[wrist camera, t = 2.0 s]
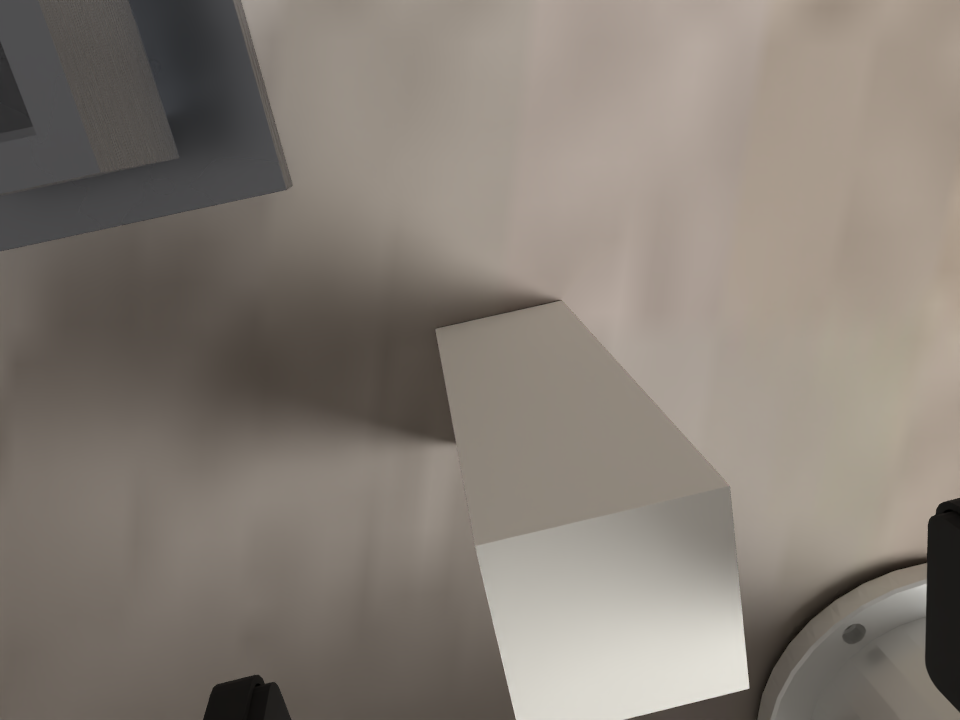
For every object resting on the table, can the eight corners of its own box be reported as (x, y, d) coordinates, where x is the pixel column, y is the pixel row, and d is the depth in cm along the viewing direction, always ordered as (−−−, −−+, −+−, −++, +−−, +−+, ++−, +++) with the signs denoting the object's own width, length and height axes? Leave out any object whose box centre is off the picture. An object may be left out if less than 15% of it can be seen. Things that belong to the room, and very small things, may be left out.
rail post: (561, 300, 22) (729, 485, 11) (581, 417, 24) (749, 688, 12) (434, 328, 22) (475, 546, 11) (462, 444, 24) (522, 744, 12)
